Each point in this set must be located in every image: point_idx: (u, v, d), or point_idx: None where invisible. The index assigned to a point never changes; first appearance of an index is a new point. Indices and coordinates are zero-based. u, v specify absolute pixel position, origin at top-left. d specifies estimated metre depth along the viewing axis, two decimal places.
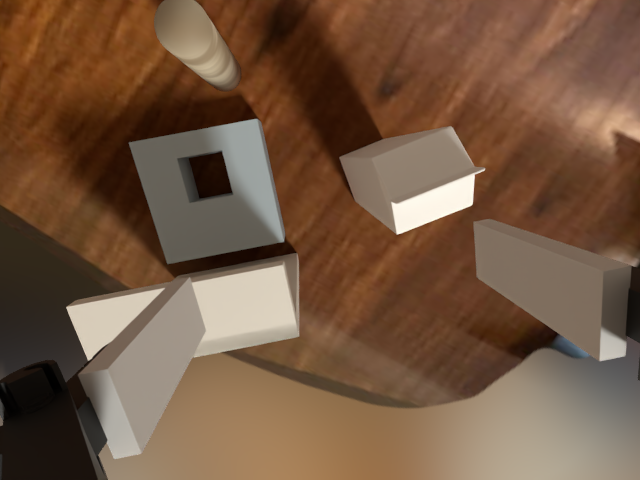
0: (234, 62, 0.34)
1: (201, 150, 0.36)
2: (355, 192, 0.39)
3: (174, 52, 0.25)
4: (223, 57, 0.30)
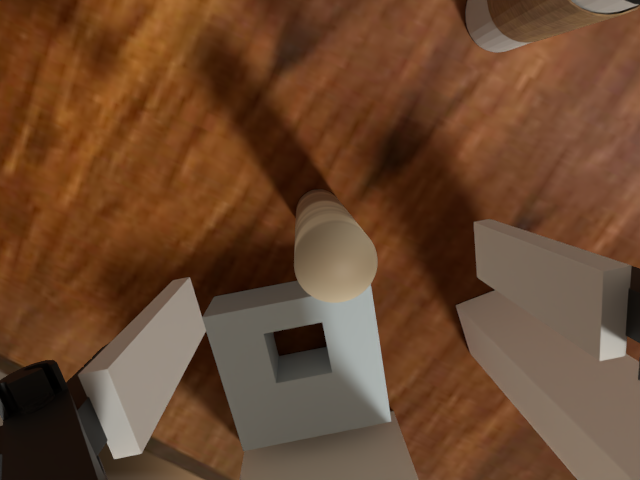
0: None
1: (296, 323, 0.27)
2: (485, 363, 0.30)
3: (320, 298, 0.16)
4: None
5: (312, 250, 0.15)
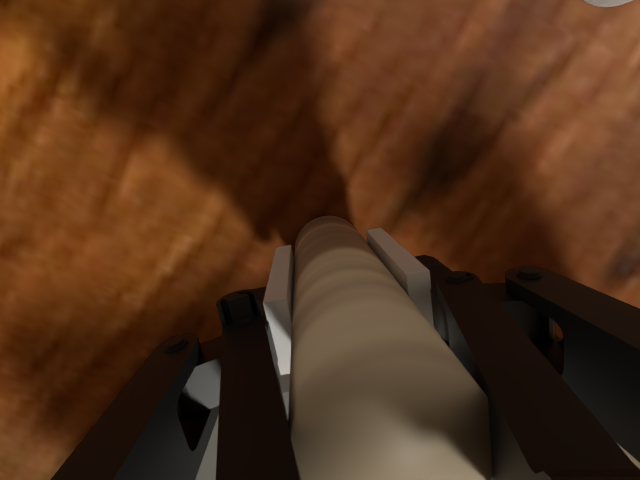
0: None
1: None
2: None
3: None
4: None
5: (335, 428, 0.06)
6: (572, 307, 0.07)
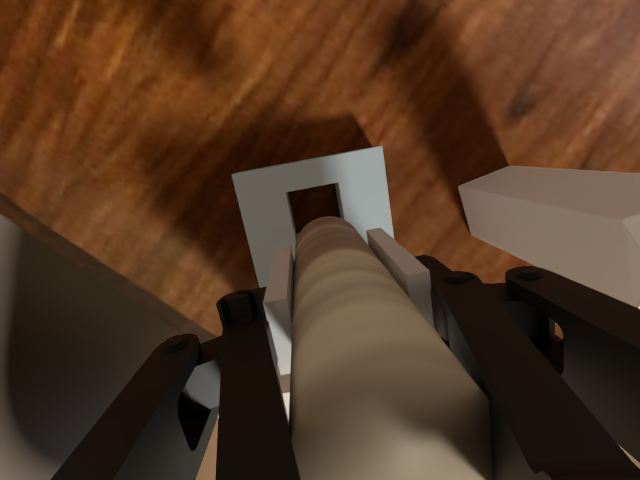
0: None
1: (315, 183, 0.31)
2: (485, 229, 0.33)
3: None
4: None
5: (336, 430, 0.06)
6: (572, 307, 0.07)
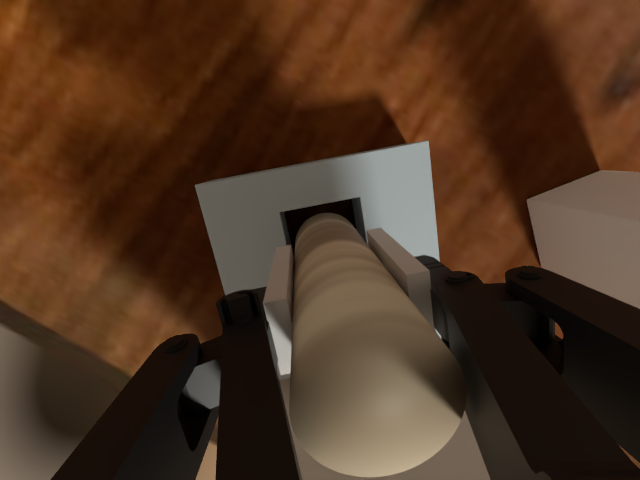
0: None
1: (324, 197, 0.20)
2: (575, 264, 0.22)
3: (344, 470, 0.08)
4: None
5: (329, 380, 0.07)
6: (572, 307, 0.07)
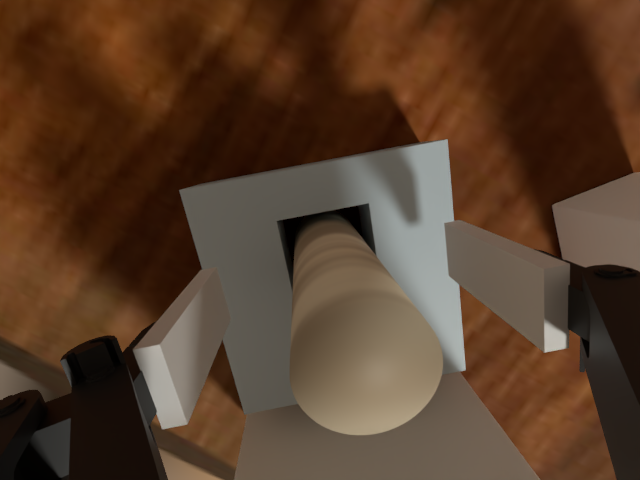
0: None
1: (328, 204, 0.17)
2: None
3: (337, 429, 0.09)
4: None
5: (324, 348, 0.08)
6: None
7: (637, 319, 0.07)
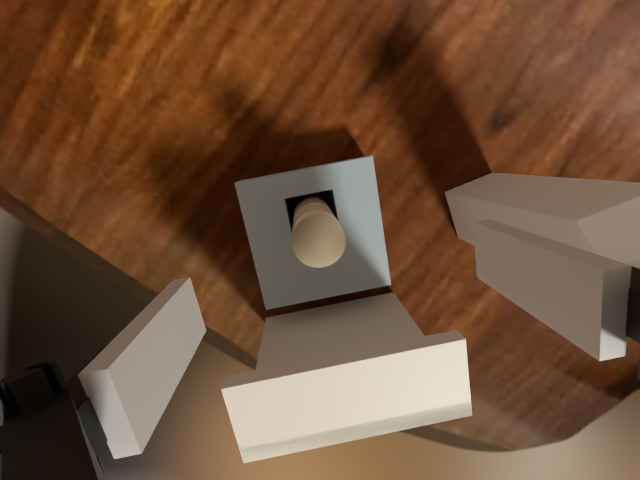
0: None
1: (311, 190, 0.33)
2: (469, 232, 0.36)
3: (309, 264, 0.25)
4: None
5: (303, 232, 0.24)
6: None
7: None
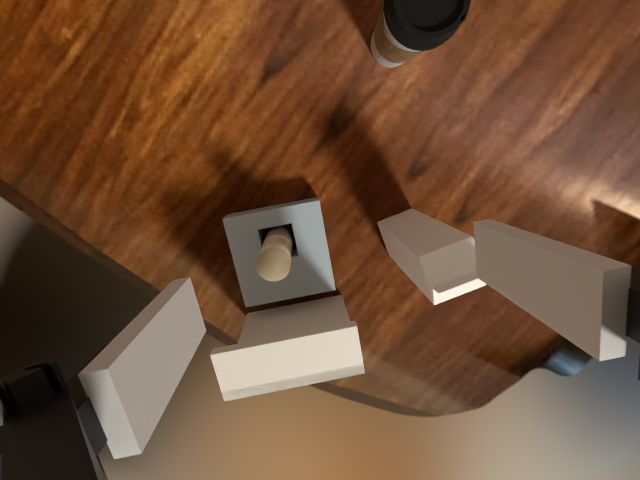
0: None
1: (276, 223, 0.47)
2: (391, 252, 0.50)
3: (267, 279, 0.39)
4: None
5: (263, 259, 0.38)
6: None
7: None
